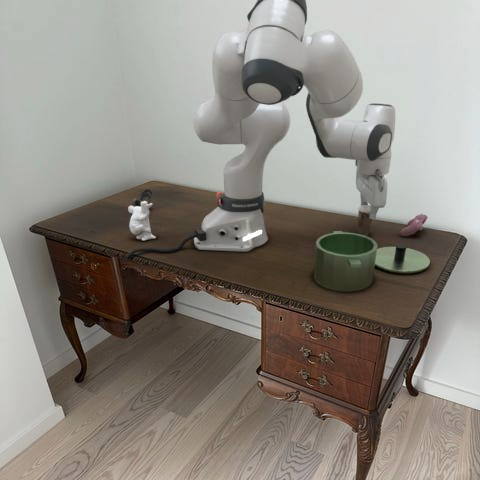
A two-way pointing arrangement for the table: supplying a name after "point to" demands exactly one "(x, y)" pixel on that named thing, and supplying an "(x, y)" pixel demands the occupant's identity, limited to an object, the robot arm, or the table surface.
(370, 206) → the robot arm
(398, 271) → the lid
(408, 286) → the table surface
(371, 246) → the pot
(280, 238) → the table surface
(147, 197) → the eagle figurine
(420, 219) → the video game controller
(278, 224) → the table surface
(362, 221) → the milkshake
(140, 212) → the koala figurine
